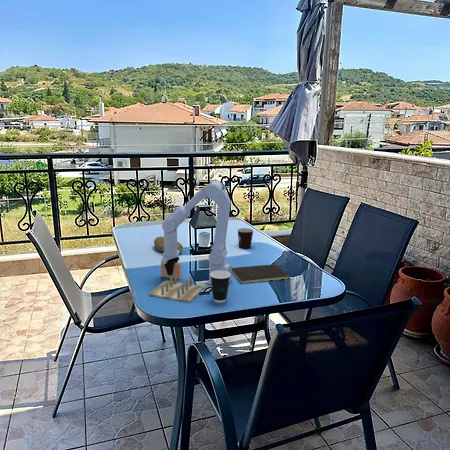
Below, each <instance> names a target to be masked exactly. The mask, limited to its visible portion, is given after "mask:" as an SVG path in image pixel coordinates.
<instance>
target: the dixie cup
mask: <svg viewBox="0 0 450 450" xmlns="http://www.w3.org/2000/svg"><path fill="white" fill-rule="evenodd" d="M210 276H211V283H212V284H211V292H212V299H213V301H214V302H215V303H220V304H221V303H225V302H226V301H227V299H228V289H229V285H230V283H229V277H230V273H229V272H227V271H213V272H211V273H210Z"/></svg>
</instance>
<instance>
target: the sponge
mask: <svg viewBox="0 0 450 450" xmlns="http://www.w3.org/2000/svg"><path fill="white" fill-rule="evenodd" d="M153 244H154V246H155V248H156V249H157V250H159V251H160V252H163V253H164V236H162V235H161V236H157V237H156V238H154V241H153ZM183 249H184V247H183V244H182V243H180V242H179V241H177V250H180V253H182V252H183Z"/></svg>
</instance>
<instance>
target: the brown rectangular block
mask: <svg viewBox="0 0 450 450" xmlns="http://www.w3.org/2000/svg"><path fill="white" fill-rule="evenodd" d="M175 274H176V275H177V280H178V281H179V280H181V279H182V263H181V262H177V263H176V262H175V264H174V267H173V274H172V275H168V274H167V271H166V268H165V265H164V264H163V263H161V262H160V277H162V278H167V279H170V278H173V280H174V275H175Z"/></svg>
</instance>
